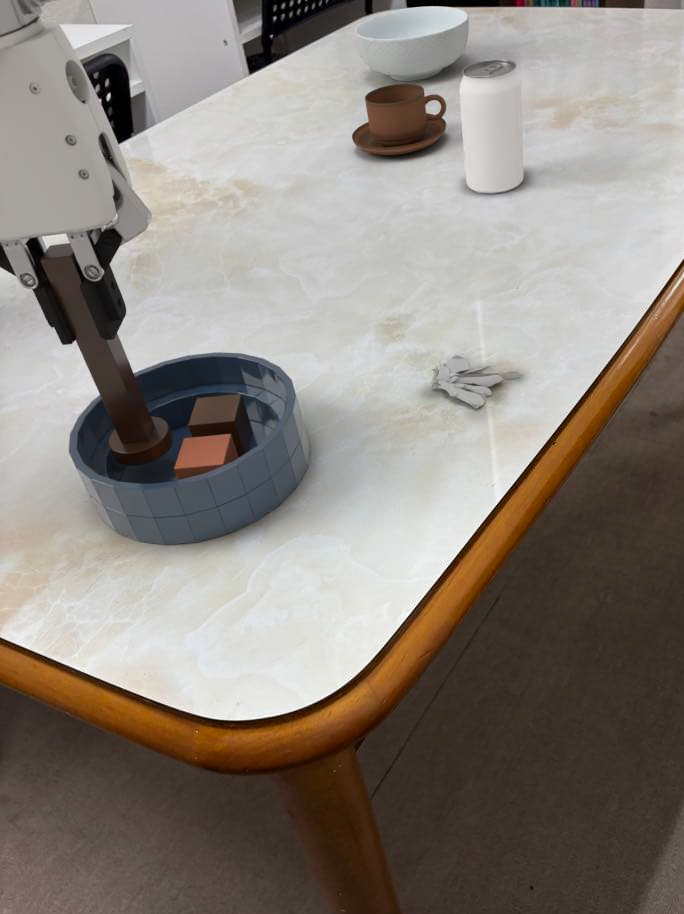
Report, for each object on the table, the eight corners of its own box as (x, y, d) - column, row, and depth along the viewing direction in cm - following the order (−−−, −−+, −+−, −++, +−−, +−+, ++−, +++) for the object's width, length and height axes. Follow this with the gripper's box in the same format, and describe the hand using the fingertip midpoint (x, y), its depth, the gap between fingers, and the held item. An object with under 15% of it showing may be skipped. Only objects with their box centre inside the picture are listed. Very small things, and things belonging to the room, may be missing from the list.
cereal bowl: (373, 99, 124) (366, 45, 119) (352, 70, 136) (344, 20, 131) (485, 76, 125) (482, 21, 121) (454, 49, 138) (450, -2, 133)
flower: (509, 362, 72) (513, 333, 70) (534, 416, 66) (539, 385, 64) (421, 366, 71) (422, 337, 69) (438, 421, 65) (440, 390, 63)
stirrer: (107, 468, 61) (13, 271, 51) (122, 432, 65) (37, 239, 54) (166, 463, 61) (84, 262, 51) (178, 426, 64) (104, 230, 54)
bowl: (70, 558, 59) (37, 499, 56) (127, 420, 71) (103, 363, 67) (299, 539, 58) (281, 476, 54) (319, 401, 70) (305, 342, 66)
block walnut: (201, 462, 65) (187, 425, 62) (209, 434, 67) (196, 397, 65) (246, 458, 64) (234, 420, 62) (253, 430, 67) (241, 393, 64)
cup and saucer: (421, 121, 115) (416, 71, 111) (464, 145, 107) (460, 91, 102) (340, 145, 112) (331, 94, 108) (377, 171, 104) (369, 118, 100)
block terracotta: (188, 506, 61) (173, 468, 59) (197, 475, 64) (183, 437, 61) (236, 502, 61) (223, 464, 58) (243, 471, 63) (231, 433, 61)
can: (455, 191, 97) (445, 75, 88) (485, 169, 100) (478, 56, 92) (505, 198, 93) (500, 79, 85) (534, 175, 97) (531, 59, 89)
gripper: (126, -27, 45) (221, 290, 58) (-152, 16, 47) (0, 316, 60) (86, 6, 40) (201, 349, 53) (-226, 54, 42) (-42, 375, 54)
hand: (93, 329), depth 56 cm, fingers closed on stirrer, 2 cm apart
